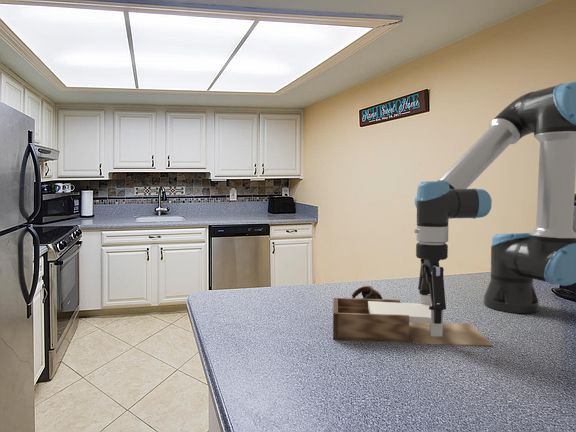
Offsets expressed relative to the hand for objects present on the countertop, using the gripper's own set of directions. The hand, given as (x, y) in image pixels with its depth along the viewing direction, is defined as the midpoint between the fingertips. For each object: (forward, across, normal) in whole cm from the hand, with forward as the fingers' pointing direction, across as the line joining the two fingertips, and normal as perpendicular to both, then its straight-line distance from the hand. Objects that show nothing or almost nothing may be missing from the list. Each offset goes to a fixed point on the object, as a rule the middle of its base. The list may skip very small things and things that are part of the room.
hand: (430, 327), depth 105 cm
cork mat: (+2, 0, +3) cm, 4 cm away
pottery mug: (+2, -20, -14) cm, 24 cm away
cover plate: (-3, 0, -7) cm, 8 cm away
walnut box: (+2, 0, -16) cm, 16 cm away
